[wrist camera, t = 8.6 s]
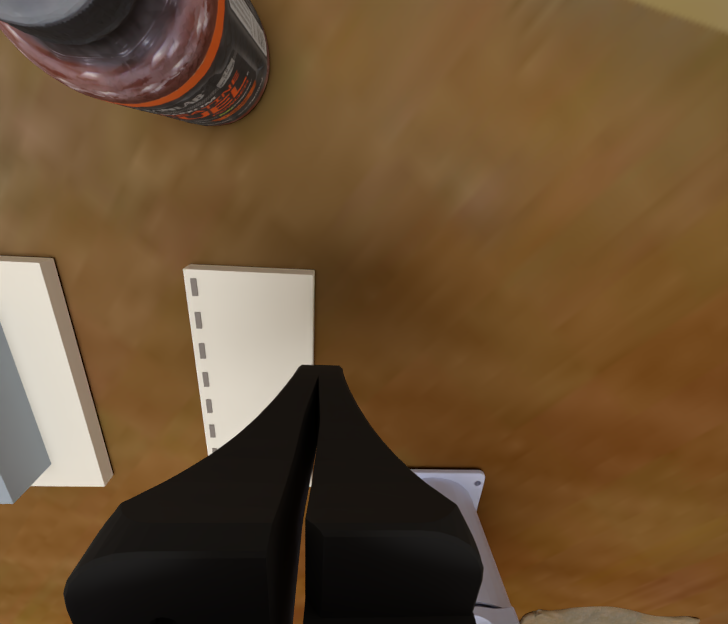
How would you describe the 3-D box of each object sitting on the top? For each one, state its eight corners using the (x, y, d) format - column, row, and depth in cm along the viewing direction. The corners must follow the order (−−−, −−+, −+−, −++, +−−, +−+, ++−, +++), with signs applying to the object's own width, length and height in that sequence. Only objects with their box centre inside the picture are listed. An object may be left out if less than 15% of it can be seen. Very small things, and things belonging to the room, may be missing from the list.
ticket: (312, 475, 27) (311, 487, 26) (217, 474, 27) (211, 487, 26) (314, 270, 21) (313, 275, 20) (190, 264, 20) (182, 269, 19)
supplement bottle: (199, 152, 18) (4, 143, 8) (111, 25, 16) (-319, -220, 6) (298, 85, 17) (227, -27, 7) (219, -60, 15) (-59, -538, 5)
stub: (113, 474, 26) (74, 526, 22) (40, 474, 26) (-12, 526, 22) (53, 257, 20) (-14, 280, 16) (-45, 253, 19) (-136, 275, 16)
